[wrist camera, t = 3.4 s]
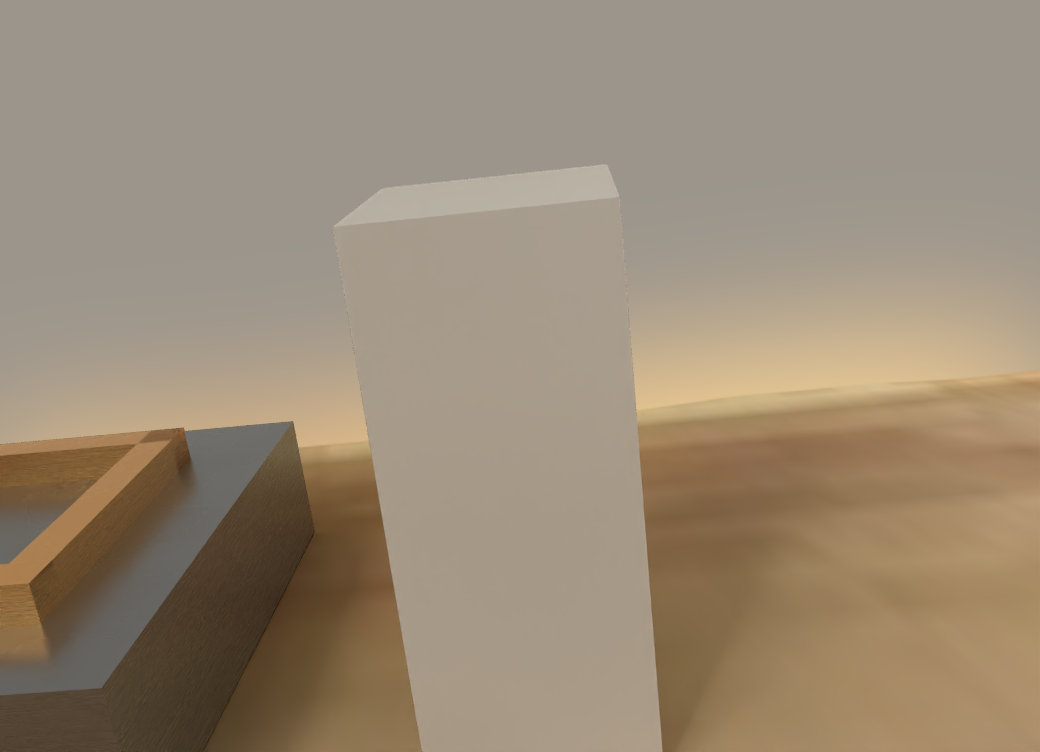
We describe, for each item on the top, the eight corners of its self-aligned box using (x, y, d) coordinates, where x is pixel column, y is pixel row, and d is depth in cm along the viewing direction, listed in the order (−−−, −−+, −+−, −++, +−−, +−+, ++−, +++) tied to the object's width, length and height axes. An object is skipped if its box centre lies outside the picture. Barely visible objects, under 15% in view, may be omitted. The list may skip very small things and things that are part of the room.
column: (427, 787, 21) (332, 226, 17) (452, 650, 26) (382, 188, 22) (664, 772, 20) (620, 197, 17) (644, 636, 25) (606, 164, 21)
